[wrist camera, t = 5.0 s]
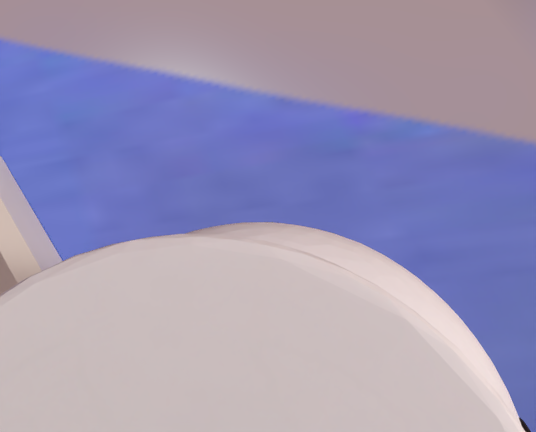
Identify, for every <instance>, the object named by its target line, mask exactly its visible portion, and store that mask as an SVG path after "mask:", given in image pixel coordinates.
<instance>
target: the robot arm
mask: <svg viewBox="0 0 536 432" xmlns="http://www.w3.org/2000/svg"><path fill="white" fill-rule="evenodd" d="M519 420H520V422H521V425H522V427H523V429H524V430H525V432H531V431H530V430H529V428H528V427H527V425H526V424H525V422H524V421H523V420H522V419H521V418H519Z"/></svg>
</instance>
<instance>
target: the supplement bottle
mask: <svg viewBox="0 0 536 432" xmlns="http://www.w3.org/2000/svg"><path fill="white" fill-rule="evenodd" d="M0 432H525V430H524V429H523V427H522V425H521V422H520V420H519V417H518V414H517V412H516V409H515V407H514V405H513V402H512V400H511V397H510V395H509V393H508V391H507V389H506V387H505V385H504V383H503V381H502V379H501V378H500V376H499V374H498V372H497V370H496V368H495V366H494V365H493V363H492V361H491V360H490V358H489V357H488V355H487V354H486V352H485V351H484V349H483V348H482V346H481V345H480V343H479V342H478V340H477V339H476V338H475V336H474V335H473V334H472V333H471V331H470V330H469V329H468V327H467V326H466V325H465V324H464V322H463V321H462V320H461V319H460V318H459V317H458V315H457V314H456V313H455V312H454V311H453V310H452V309H451V308H450V307H449V306H448V305H447V303H446V302H444V301H443V300H442V299H441V298H440V297H439V296H438V295H437V294H436V293H435V292H434V291H433V290H431V289H430V288H429V287H428V286H427V285H426V284H424V283H423V282H422V281H421V280H420V279H418V278H417V277H416V276H414V275H413V274H412V273H410V272H409V271H408V270H406V269H405V268H403V267H402V266H400V265H399V264H397V263H396V262H394V261H392V260H391V259H389V258H387V257H386V256H384V255H383V254H381V253H379V252H377V251H375V250H373V249H371V248H369V247H367V246H365V245H363V244H361V243H358V242H356V241H353V240H350V239H347V238H345V237H342V236H339V235H336V234H334V233H330V232H326V231H322V230H319V229H315V228H309V227H304V226H299V225H291V224H283V223H273V222H254V223H236V224H227V225H221V226H215V227H209V228H205V229H200V230H196V231H192V232H189V233H186V234H176V235H166V236H157V237H149V238H143V239H137V240H132V241H127V242H122V243H117V244H112V245H109V246H105V247H102V248H99V249H96V250H92V251H89V252H86V253H82V254H79V255H76V256H73V257H71V258H69V259H67V260H65V261H62V262H60V263H58V264H56V265H54V266H52V267H49V268H47V269H45V270H43V271H41V272H39V273H36V274H34V275H32V276H30V277H28V278H26V279H24V280H22V281H21V282H19V283H17V284H16V285H14V286H13V287H11V288H10V289H8V290H7V291H5V292H3V293H2V294H0Z"/></svg>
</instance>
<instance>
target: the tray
mask: <svg viewBox="0 0 536 432" xmlns="http://www.w3.org/2000/svg"><path fill="white" fill-rule="evenodd" d="M60 262H62V260H61V258H60V256H59V255H58V253H57V251H56V249H55V248H54V246H53V244H52V243H51V241H50V239H49V237H48V236H47V234H46V232H45V231H44V229H43V227H42V225H41V224H40V222H39V220H38V219H37V217H36V215H35V213H34V212H33V210H32V208H31V207H30V205H29V203H28V202H27V200H26V198H25V196H24V195H23V193H22V191H21V190H20V188H19V186H18V184H17V183H16V181H15V179H14V178H13V176H12V174H11V172H10V171H9V169H8V167H7V166H6V164H5V162H4V161H3V159H2V157H1V156H0V294H2V293H3V292H5V291H7V290H8V289H10V288H11V287H13V286H14V285H16V284H17V283H19V282H21V281H22V280H24V279H26V278H28V277H30V276H32V275H34V274H36V273H39V272H41V271H43V270H45V269H47V268H49V267H52V266H54V265H56V264H58V263H60Z"/></svg>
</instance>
